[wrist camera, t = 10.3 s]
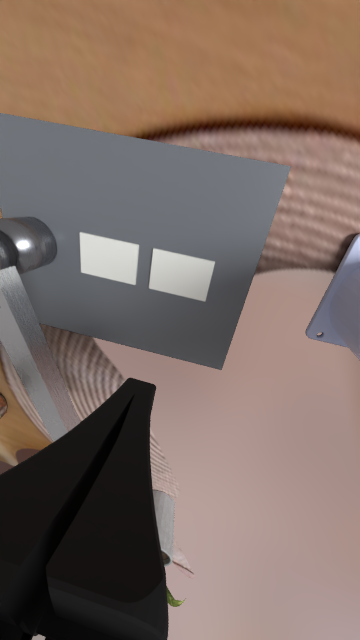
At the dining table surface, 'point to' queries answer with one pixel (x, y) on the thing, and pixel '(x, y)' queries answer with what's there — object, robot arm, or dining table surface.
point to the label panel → (139, 234)
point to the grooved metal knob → (30, 242)
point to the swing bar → (31, 348)
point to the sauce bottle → (2, 406)
